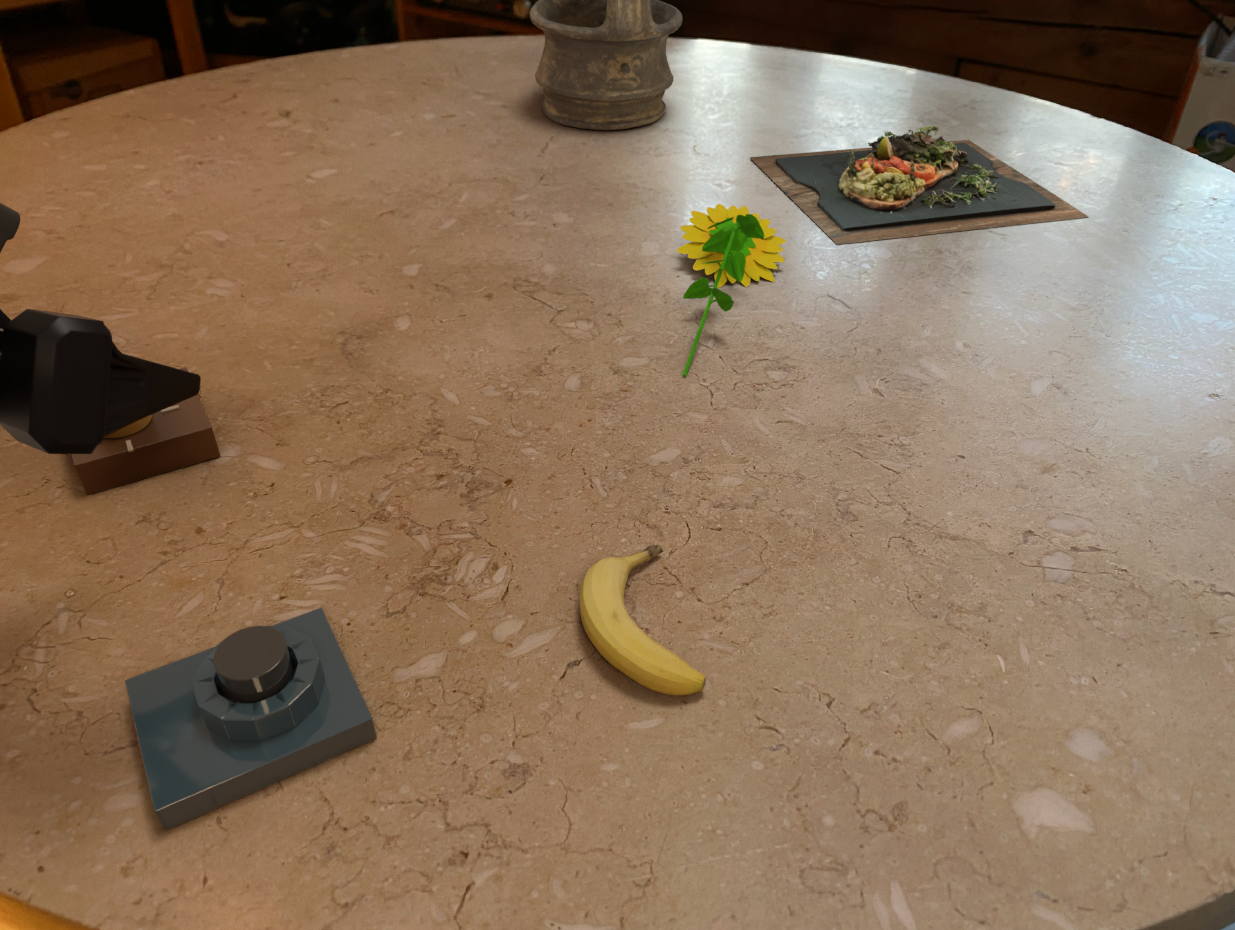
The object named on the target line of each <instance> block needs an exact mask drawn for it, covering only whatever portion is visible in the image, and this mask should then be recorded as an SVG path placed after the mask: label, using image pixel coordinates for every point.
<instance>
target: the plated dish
mask: <svg viewBox="0 0 1235 930" xmlns="http://www.w3.org/2000/svg"><path fill="white" fill-rule="evenodd" d="M939 130H940V127H939V126H937V125H936V126H935V125H930V126H924V127H918V128H916V131H915V132H914V131H913V130H911V129H908V133H904V134H900V135H896V134H894V133H893V132H892V131H888V130H887V131H884V135H881V136H880V137H878V138H877V140H875V141H872V142H867V144H868V146H869V147H859V148H858V147H857V148H847V149H835V150H823V151H811V152H795V153H785V154H773V155H762V156H761V155H759V156H750V157H749V159H750V160H752V162H754V163H755V164H756V166H757V167H758V168H760V170H762V172H764V173H765V174H766V176H767V177H768V178H770V179H771V181H773V182H774V184H776V185H777V187H779V188H780V189H781V191H782V192H783V193H784V194H785V195H787V196H788V198H790V199H791V200H792V202H794V203H795V204H796V205H797V206H798V208H799V209H801V210H802V211H803V212H804V213H805V214H806V215H807V216H808V217H809V219H811V220H812V222H814V223H815V224H816V225H817V227H819V228H820V230H822V231H823V232H824V234H826V235H827V236H828V238H830V240H831V241H832V242H833V243H835V245H845V244H846V245H847V244H854V243H864V242H873V241H882V240H891V239H899V238H900V239H901V238H909V237H918V236H927V235H928V236H929V235H935V234H936V235H937V234H946V233H954V232H965V231H973V230H983V229H992V228H1002V227H1011V226H1021V225H1028V224H1037V223H1047V222H1055V221H1063V220H1073V219H1084V218H1089V215H1087V214H1085V213H1084V212H1083V211H1081V210H1079V209H1078V208H1076V207H1075V206H1073V205H1071V204H1070V203H1069V202H1067V201H1066V200H1064V199H1063V198H1061V197H1059V196H1058V195H1056V194H1055V193H1053V192H1052V191H1050V190H1048V189H1047V188H1045V187H1043V186H1042V185H1040V184H1039V183H1037V182H1036V181H1034V180H1033V179H1031V178H1029V177H1028V176H1026V175H1024V174H1023V173H1021V172H1020V171H1019V170H1017V169H1015V168H1014V167H1012V166H1010V164H1007V163H1006V162H1004V161H1003V160H1001V159H1000V158H998V157H996V156H994V155H993V154H991V153H990V152H988V151H987V150H985V149H983V148H982V147H980V146H979V145H977V144H976V143H974V142H973V141H972V140H970V139H962V140H948V141H946V139H945V138H943V137H944V136H943V135H940V136H939V137H937V138H933V136H932V135H931V133H932V132H934V135H935V136H937V134H938V131H939Z"/></svg>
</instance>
